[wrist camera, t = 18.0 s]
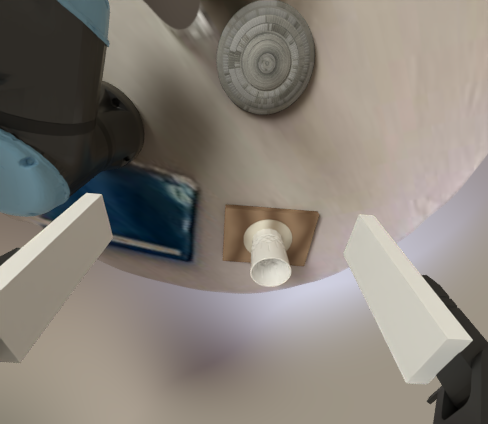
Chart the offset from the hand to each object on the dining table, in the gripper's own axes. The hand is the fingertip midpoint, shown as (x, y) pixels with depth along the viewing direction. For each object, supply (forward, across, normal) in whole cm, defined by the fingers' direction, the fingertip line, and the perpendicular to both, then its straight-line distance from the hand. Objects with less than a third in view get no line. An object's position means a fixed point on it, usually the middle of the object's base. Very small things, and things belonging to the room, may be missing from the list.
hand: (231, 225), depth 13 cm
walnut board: (+35, +8, -27) cm, 45 cm away
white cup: (+33, +8, -27) cm, 43 cm away
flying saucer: (+35, +3, +7) cm, 36 cm away
